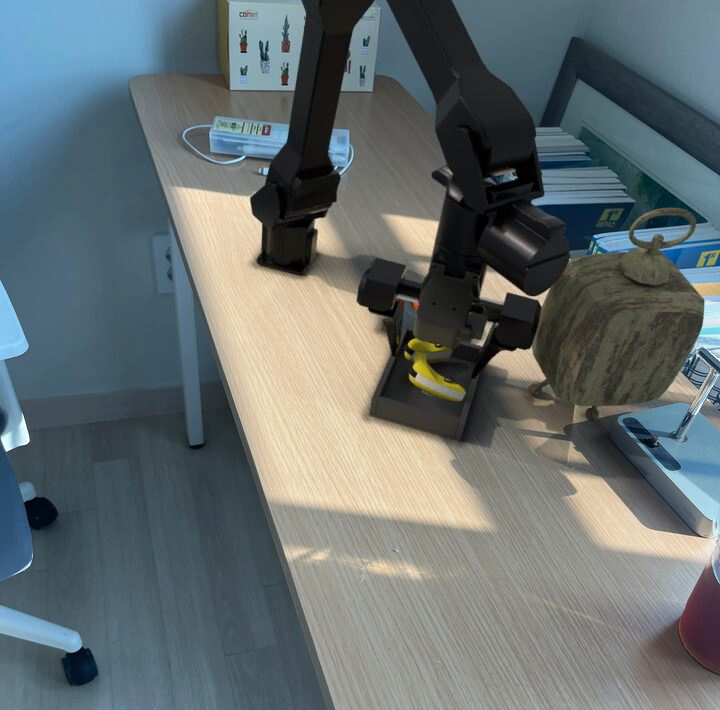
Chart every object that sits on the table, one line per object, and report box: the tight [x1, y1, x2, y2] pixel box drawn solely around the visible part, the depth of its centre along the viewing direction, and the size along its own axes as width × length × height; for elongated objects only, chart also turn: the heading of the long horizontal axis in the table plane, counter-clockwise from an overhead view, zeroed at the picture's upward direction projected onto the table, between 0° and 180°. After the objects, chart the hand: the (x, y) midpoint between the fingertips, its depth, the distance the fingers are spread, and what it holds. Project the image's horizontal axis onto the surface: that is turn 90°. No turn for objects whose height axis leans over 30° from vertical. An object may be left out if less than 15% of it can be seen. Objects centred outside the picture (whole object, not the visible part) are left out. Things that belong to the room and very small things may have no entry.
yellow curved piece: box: [404, 339, 466, 401], centre depth 86 cm, size 10×6×4 cm, turn 2°
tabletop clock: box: [528, 207, 706, 422], centre depth 80 cm, size 14×9×25 cm, turn 102°
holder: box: [368, 325, 483, 443], centre depth 87 cm, size 10×14×3 cm
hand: (433, 365), depth 85 cm, fingers open, 9 cm apart
